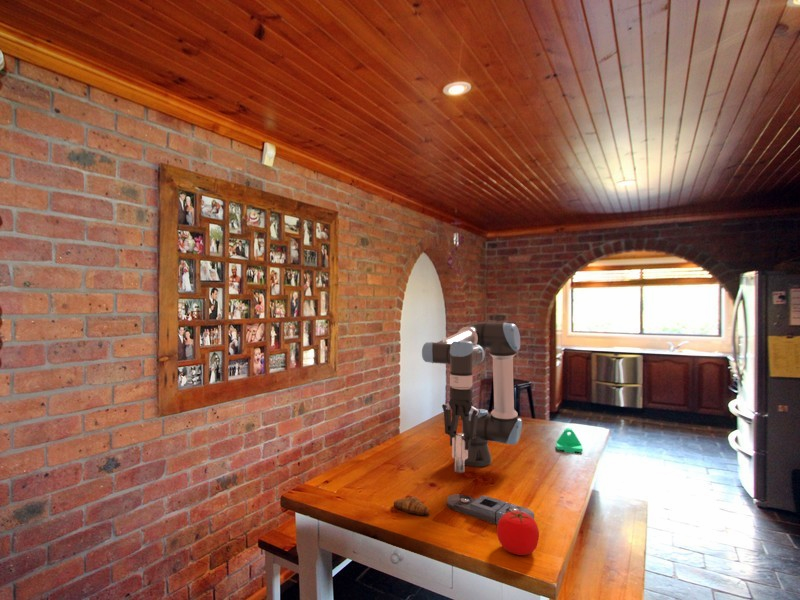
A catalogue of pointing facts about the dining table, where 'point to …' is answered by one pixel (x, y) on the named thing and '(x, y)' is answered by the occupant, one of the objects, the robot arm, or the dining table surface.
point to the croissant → (411, 506)
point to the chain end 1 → (466, 507)
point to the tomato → (518, 533)
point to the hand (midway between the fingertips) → (459, 457)
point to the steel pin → (459, 453)
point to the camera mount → (569, 442)
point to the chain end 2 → (496, 507)
